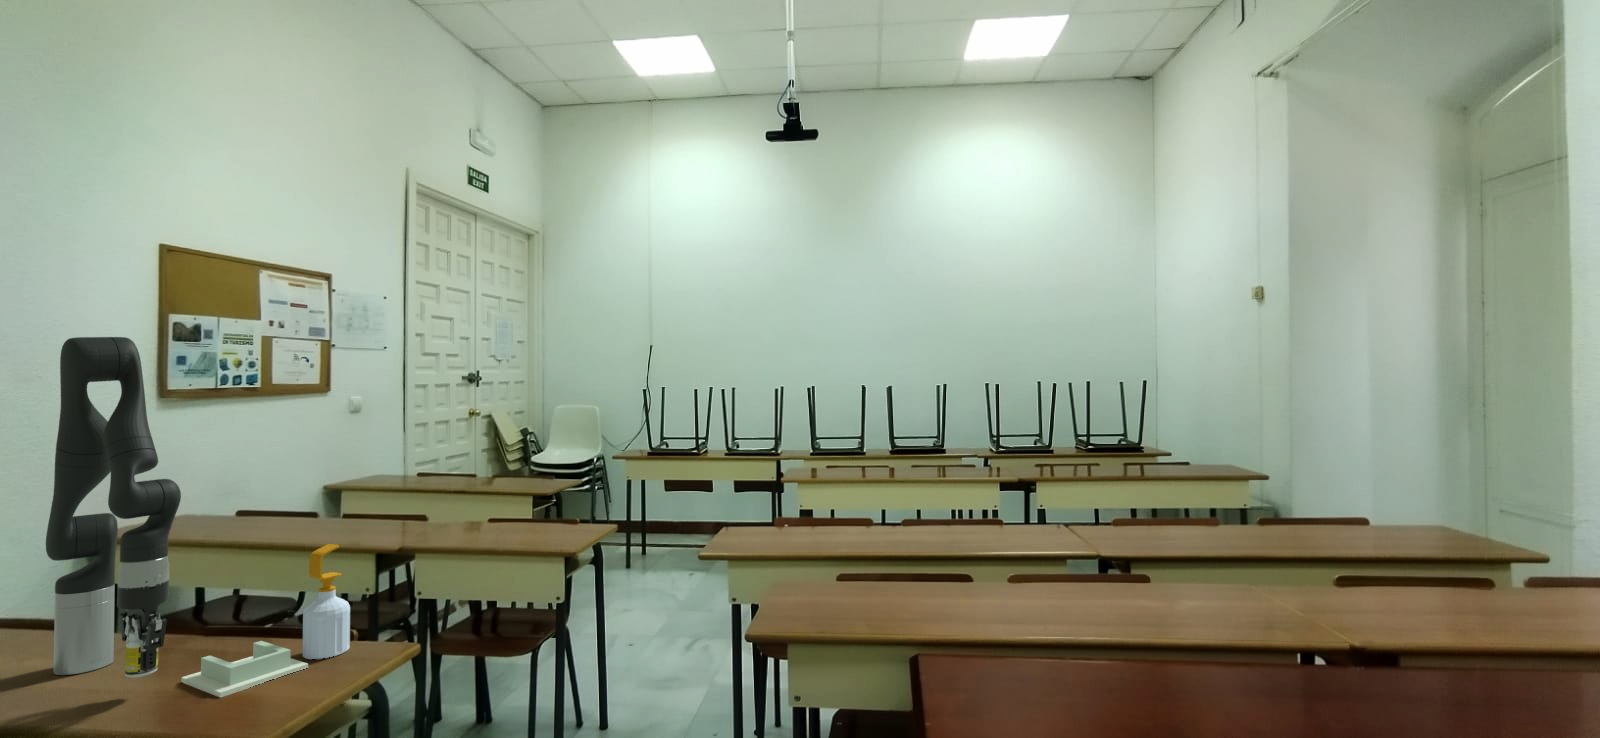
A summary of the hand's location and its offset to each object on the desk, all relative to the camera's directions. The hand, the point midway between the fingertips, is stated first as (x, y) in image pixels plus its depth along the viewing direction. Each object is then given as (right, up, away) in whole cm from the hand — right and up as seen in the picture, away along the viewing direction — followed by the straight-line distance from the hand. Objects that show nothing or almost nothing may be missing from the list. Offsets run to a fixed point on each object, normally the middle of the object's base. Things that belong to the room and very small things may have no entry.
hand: (141, 665), depth 139 cm
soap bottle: (+22, -6, +22) cm, 32 cm away
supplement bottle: (0, -2, 0) cm, 2 cm away
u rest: (+13, -6, +9) cm, 17 cm away
